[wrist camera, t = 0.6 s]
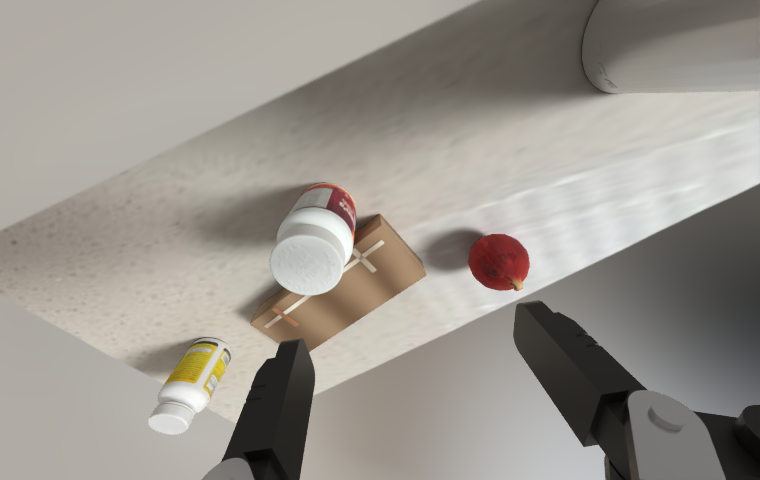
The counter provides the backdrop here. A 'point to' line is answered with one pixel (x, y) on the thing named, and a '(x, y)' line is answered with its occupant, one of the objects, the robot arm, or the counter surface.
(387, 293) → the brown banded box
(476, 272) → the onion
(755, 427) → the robot arm
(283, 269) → the pill bottle
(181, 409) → the supplement bottle
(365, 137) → the counter surface
